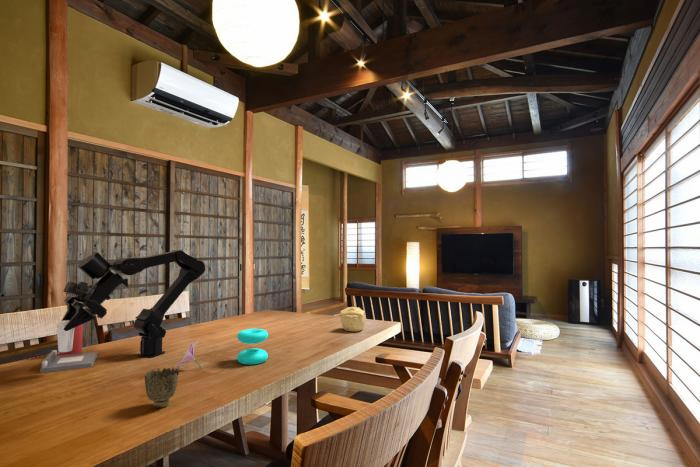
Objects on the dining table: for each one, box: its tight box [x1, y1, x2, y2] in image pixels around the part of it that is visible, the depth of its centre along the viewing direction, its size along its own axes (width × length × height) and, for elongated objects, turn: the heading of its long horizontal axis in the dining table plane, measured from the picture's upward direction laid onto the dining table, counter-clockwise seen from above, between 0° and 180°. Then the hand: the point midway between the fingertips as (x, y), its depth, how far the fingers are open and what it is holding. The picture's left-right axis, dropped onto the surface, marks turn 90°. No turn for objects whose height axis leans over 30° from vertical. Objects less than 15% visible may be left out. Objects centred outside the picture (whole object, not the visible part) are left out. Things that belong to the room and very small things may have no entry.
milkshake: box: [56, 320, 74, 353], centre depth 118 cm, size 5×5×10 cm
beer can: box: [58, 324, 84, 356], centre depth 138 cm, size 7×7×12 cm
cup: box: [143, 367, 179, 409], centre depth 94 cm, size 8×7×8 cm
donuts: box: [236, 328, 269, 366], centre depth 131 cm, size 10×10×10 cm
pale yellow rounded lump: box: [339, 306, 367, 332], centre depth 180 cm, size 12×12×11 cm
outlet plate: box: [39, 349, 98, 374], centre depth 127 cm, size 13×15×3 cm
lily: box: [173, 339, 203, 370], centre depth 121 cm, size 12×12×10 cm
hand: (61, 329), depth 117 cm, fingers closed on milkshake, 4 cm apart
